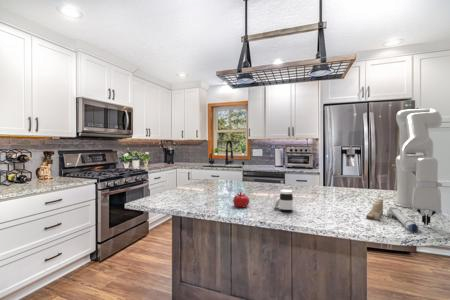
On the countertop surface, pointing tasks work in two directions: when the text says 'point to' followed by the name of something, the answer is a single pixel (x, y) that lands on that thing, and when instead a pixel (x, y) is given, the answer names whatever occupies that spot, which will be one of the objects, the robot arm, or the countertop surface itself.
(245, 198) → the pomegranate
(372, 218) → the peg rack
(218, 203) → the countertop surface
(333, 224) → the countertop surface
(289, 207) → the spread jar
